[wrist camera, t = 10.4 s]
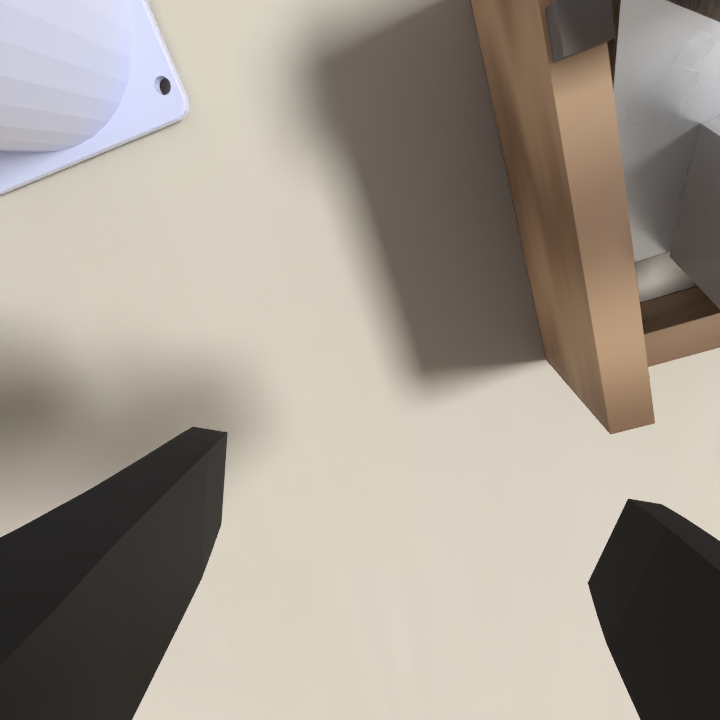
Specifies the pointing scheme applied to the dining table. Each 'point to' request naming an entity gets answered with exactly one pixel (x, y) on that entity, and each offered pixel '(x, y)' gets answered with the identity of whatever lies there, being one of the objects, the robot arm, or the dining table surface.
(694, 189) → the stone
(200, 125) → the dining table surface
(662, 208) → the trapdoor
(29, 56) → the robot arm
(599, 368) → the frame
